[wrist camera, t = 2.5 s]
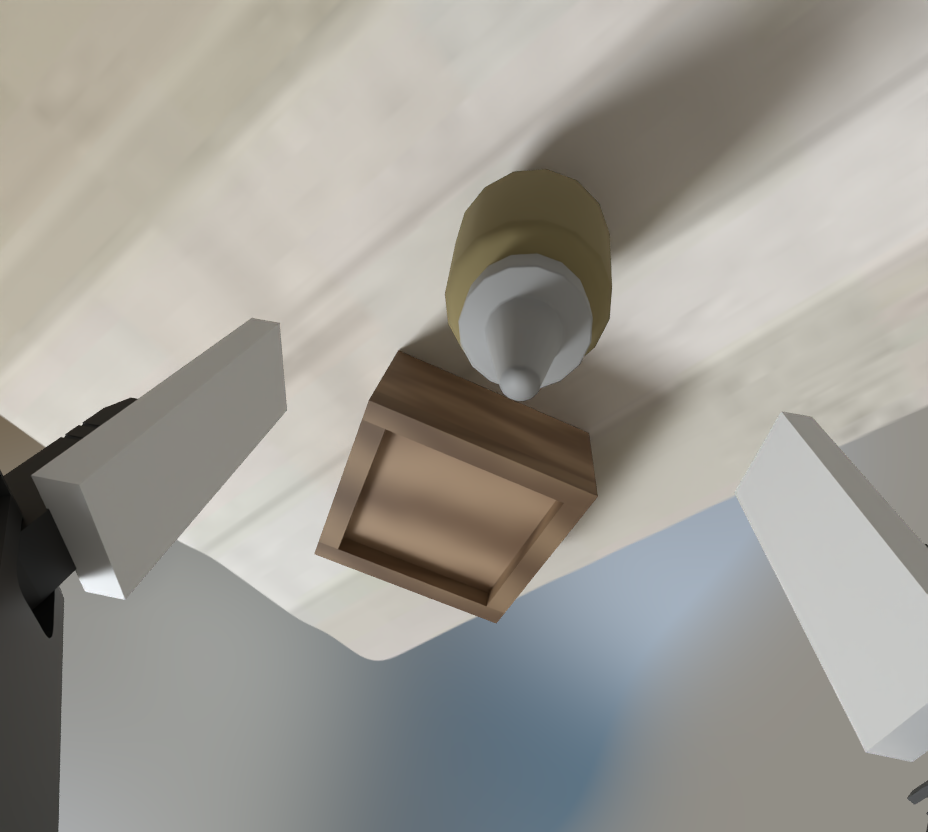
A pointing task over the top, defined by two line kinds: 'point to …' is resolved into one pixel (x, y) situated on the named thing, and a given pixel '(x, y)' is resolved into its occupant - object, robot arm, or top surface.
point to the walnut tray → (456, 490)
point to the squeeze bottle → (530, 280)
